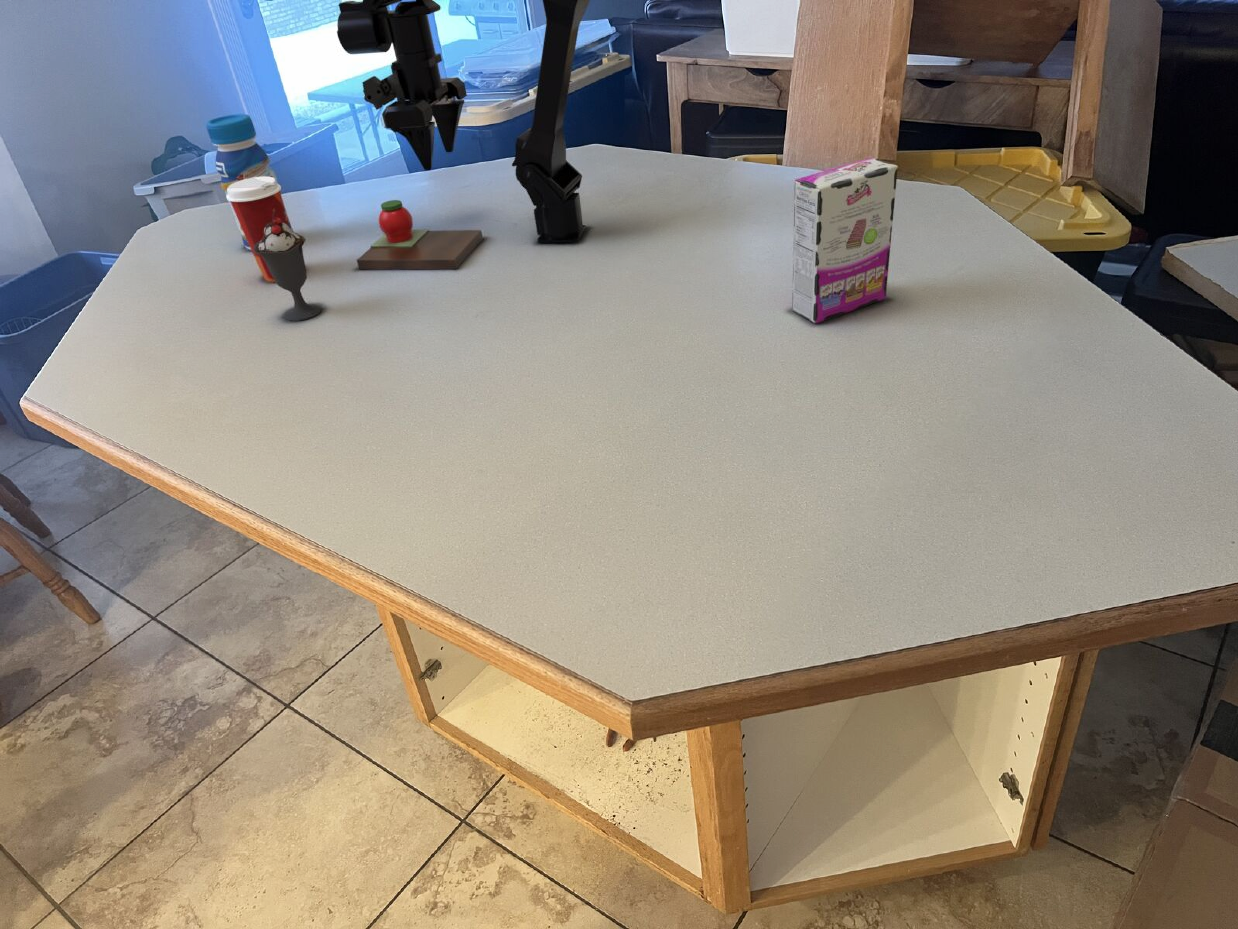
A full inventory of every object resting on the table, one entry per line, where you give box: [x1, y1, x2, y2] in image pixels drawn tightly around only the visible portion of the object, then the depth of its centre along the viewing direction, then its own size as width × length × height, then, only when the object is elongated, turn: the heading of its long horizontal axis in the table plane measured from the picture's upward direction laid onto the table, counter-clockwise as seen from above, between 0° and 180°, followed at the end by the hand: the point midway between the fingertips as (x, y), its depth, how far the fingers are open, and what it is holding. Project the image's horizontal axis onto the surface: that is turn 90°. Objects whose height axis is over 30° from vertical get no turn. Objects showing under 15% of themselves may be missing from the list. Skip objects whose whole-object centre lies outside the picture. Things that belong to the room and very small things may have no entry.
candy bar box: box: [791, 157, 899, 324], centre depth 97 cm, size 11×5×16 cm, turn 117°
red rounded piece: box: [378, 199, 414, 242], centre depth 129 cm, size 5×5×6 cm
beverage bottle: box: [205, 113, 294, 251], centre depth 133 cm, size 8×8×20 cm
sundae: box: [253, 209, 322, 322], centre depth 110 cm, size 7×7×15 cm
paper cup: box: [226, 176, 290, 283], centre depth 123 cm, size 8×8×14 cm
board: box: [356, 229, 484, 270], centre depth 128 cm, size 16×12×2 cm
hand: (439, 160), depth 128 cm, fingers open, 9 cm apart
